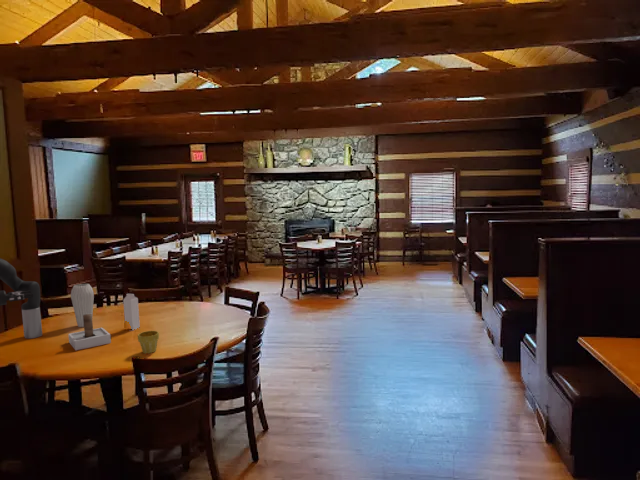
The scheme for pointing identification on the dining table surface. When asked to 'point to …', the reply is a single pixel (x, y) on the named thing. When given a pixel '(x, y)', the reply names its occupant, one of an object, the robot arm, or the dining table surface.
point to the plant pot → (148, 341)
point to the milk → (131, 311)
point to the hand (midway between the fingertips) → (31, 293)
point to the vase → (82, 301)
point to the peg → (88, 325)
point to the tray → (89, 339)
